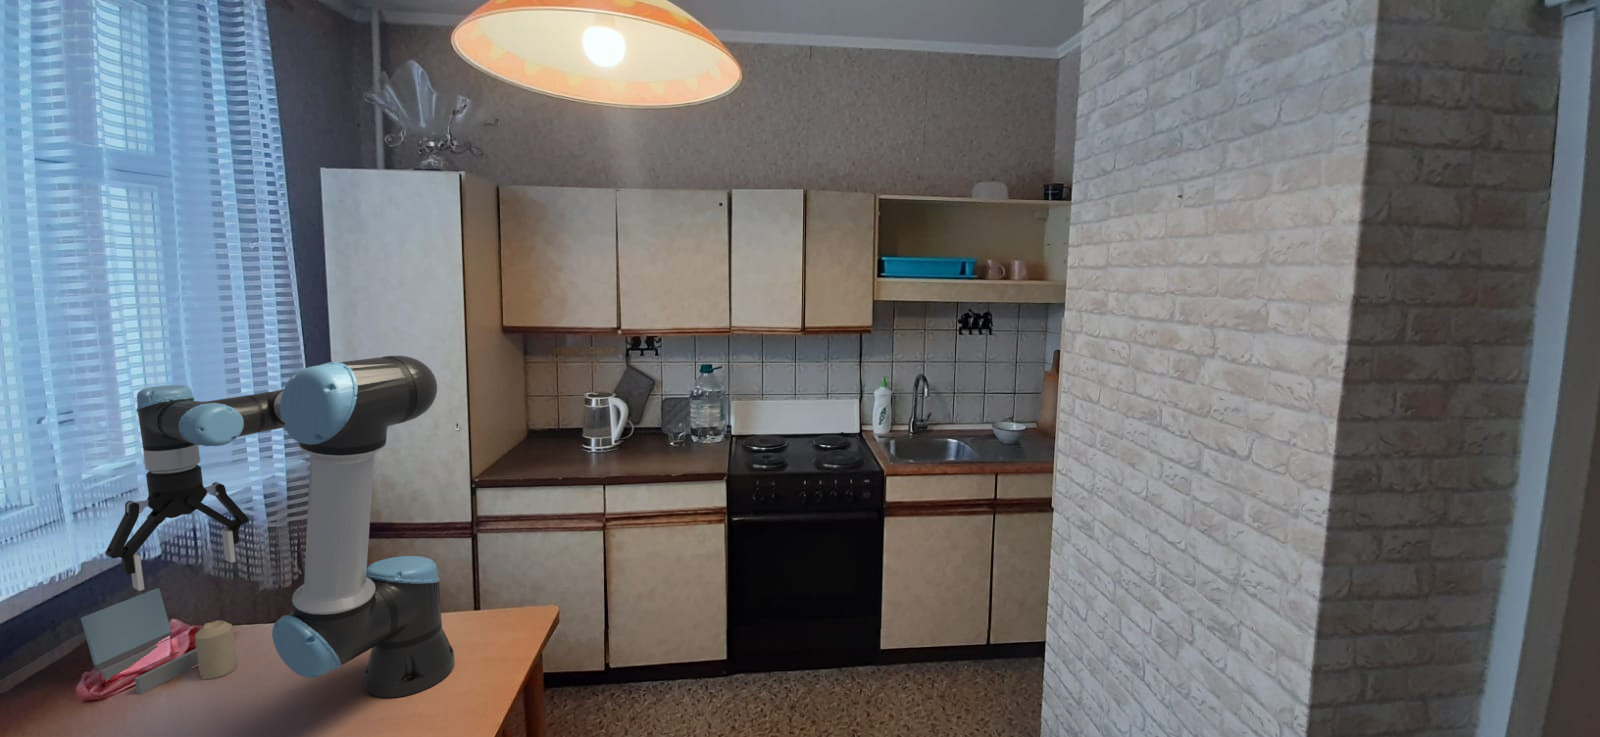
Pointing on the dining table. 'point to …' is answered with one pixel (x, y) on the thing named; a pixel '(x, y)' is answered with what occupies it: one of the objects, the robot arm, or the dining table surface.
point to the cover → (126, 628)
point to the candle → (216, 649)
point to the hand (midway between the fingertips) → (186, 574)
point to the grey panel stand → (155, 675)
